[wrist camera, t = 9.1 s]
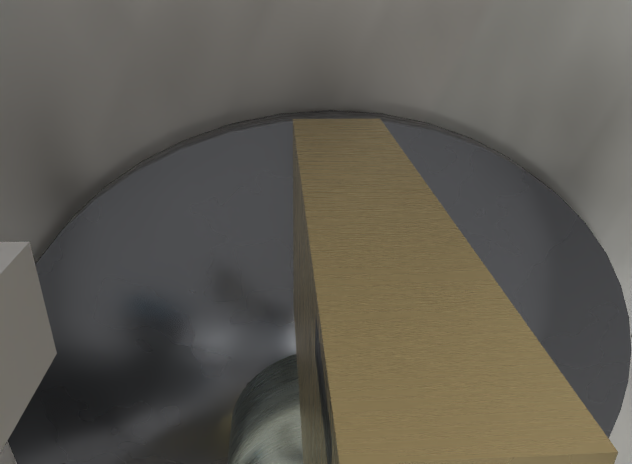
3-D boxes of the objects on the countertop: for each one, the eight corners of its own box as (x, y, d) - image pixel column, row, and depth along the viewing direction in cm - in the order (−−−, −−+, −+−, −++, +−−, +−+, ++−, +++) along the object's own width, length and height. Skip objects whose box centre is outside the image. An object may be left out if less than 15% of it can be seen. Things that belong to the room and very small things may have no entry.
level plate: (-65, 497, 20) (-170, 662, 15) (174, -51, 13) (117, -62, 8) (397, 627, 26) (425, 775, 21) (738, 301, 19) (897, 414, 14)
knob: (367, 304, 16) (500, 777, 7) (293, 307, 16) (324, 794, 7) (380, 118, 14) (618, 452, 4) (292, 118, 14) (339, 467, 4)
